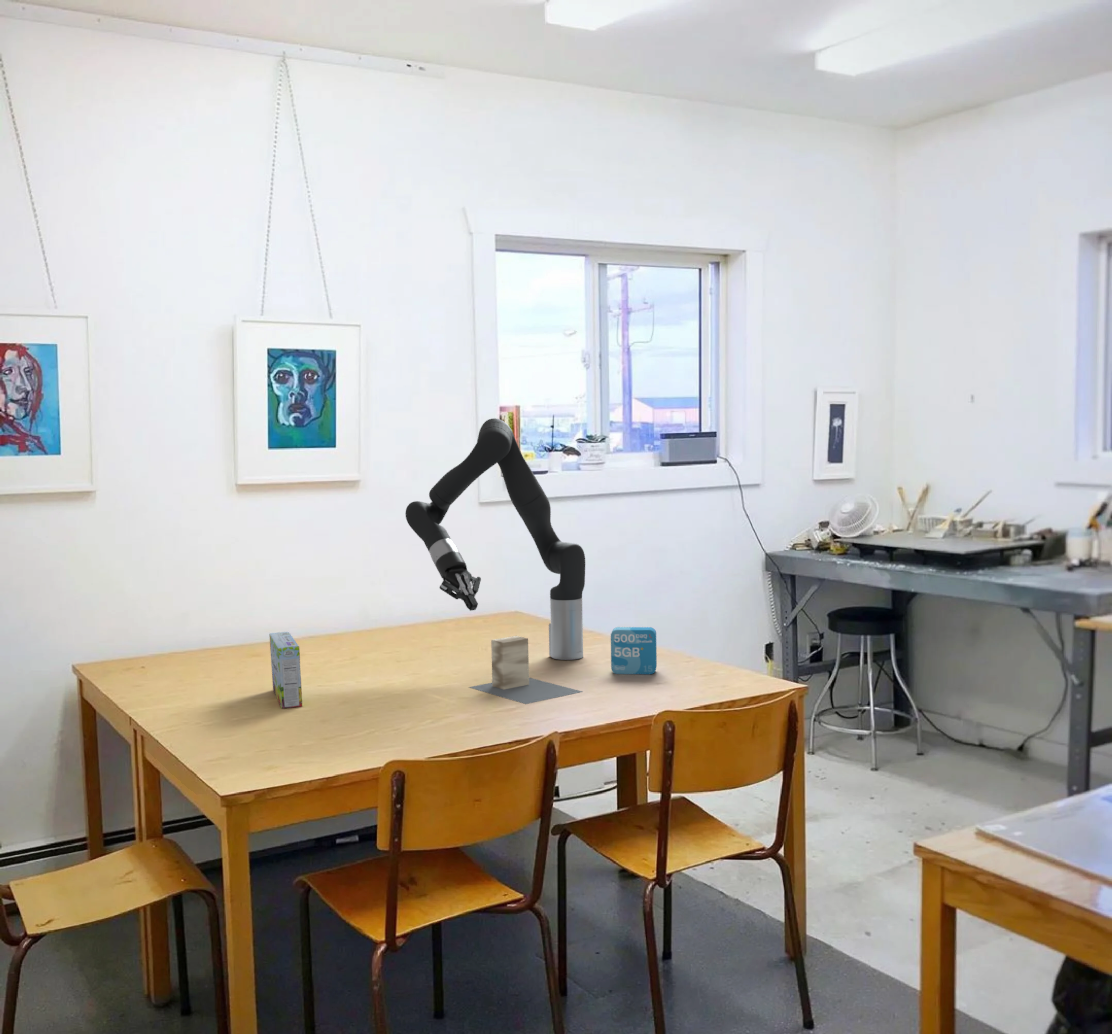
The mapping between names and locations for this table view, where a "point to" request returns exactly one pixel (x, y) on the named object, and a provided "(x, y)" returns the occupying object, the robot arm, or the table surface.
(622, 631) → the data package
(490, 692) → the mat
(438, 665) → the table surface
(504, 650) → the ash block
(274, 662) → the snack box
